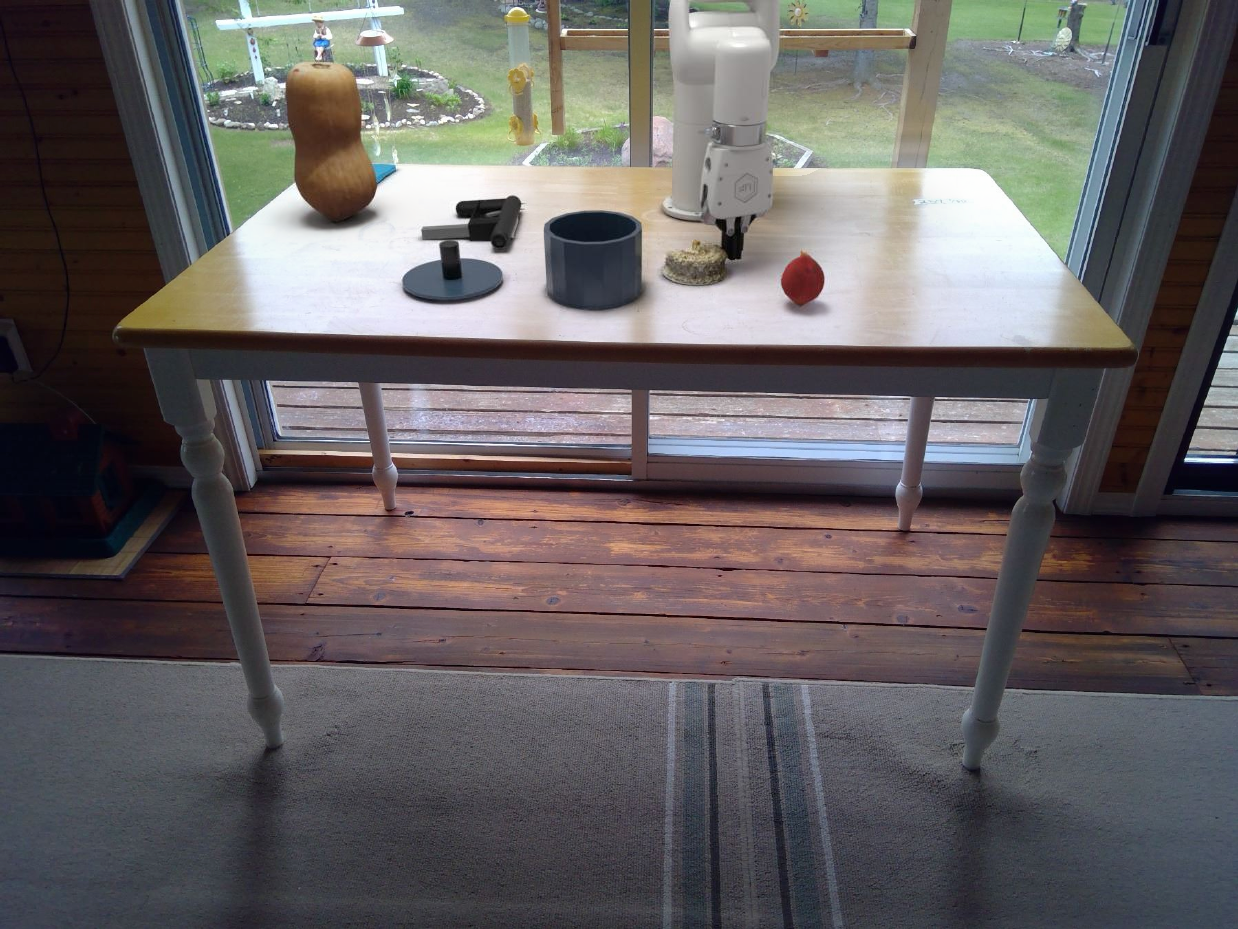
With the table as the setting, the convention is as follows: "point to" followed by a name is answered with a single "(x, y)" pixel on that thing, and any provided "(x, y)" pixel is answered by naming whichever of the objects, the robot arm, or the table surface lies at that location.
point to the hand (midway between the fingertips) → (731, 257)
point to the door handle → (482, 222)
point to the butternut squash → (328, 139)
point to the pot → (593, 259)
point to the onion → (802, 279)
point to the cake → (696, 264)
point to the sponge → (383, 170)
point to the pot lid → (452, 276)
